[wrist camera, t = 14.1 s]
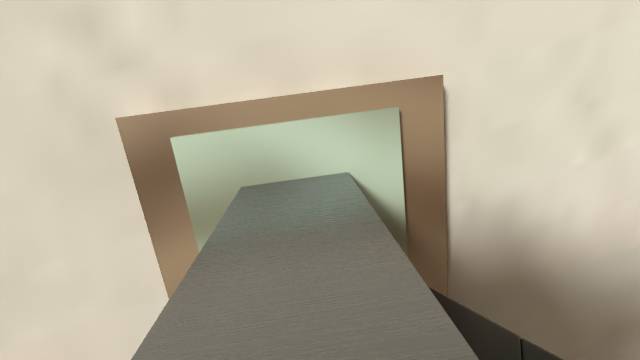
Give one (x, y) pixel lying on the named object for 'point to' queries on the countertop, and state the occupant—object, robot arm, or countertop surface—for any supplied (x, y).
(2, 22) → the countertop surface
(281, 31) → the countertop surface
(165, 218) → the stand board
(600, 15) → the countertop surface
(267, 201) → the steel key
